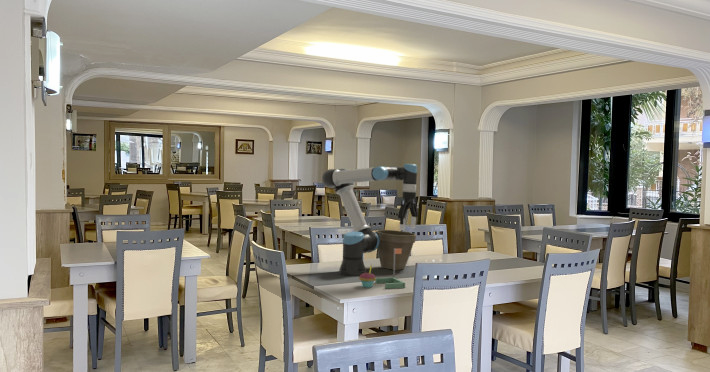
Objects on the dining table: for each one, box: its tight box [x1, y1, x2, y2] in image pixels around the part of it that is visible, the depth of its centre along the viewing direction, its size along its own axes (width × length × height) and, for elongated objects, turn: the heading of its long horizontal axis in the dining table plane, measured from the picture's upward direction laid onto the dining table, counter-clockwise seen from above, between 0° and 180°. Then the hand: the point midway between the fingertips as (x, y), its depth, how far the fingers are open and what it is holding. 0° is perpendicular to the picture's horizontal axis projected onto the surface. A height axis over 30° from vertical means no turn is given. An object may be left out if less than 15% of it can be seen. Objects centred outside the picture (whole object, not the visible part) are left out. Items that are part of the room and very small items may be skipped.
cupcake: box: [358, 263, 377, 288], centre depth 287 cm, size 9×8×12 cm
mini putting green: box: [374, 248, 406, 290], centre depth 292 cm, size 15×16×18 cm
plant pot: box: [375, 229, 417, 271], centre depth 341 cm, size 25×25×22 cm
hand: (407, 229), depth 315 cm, fingers open, 13 cm apart
